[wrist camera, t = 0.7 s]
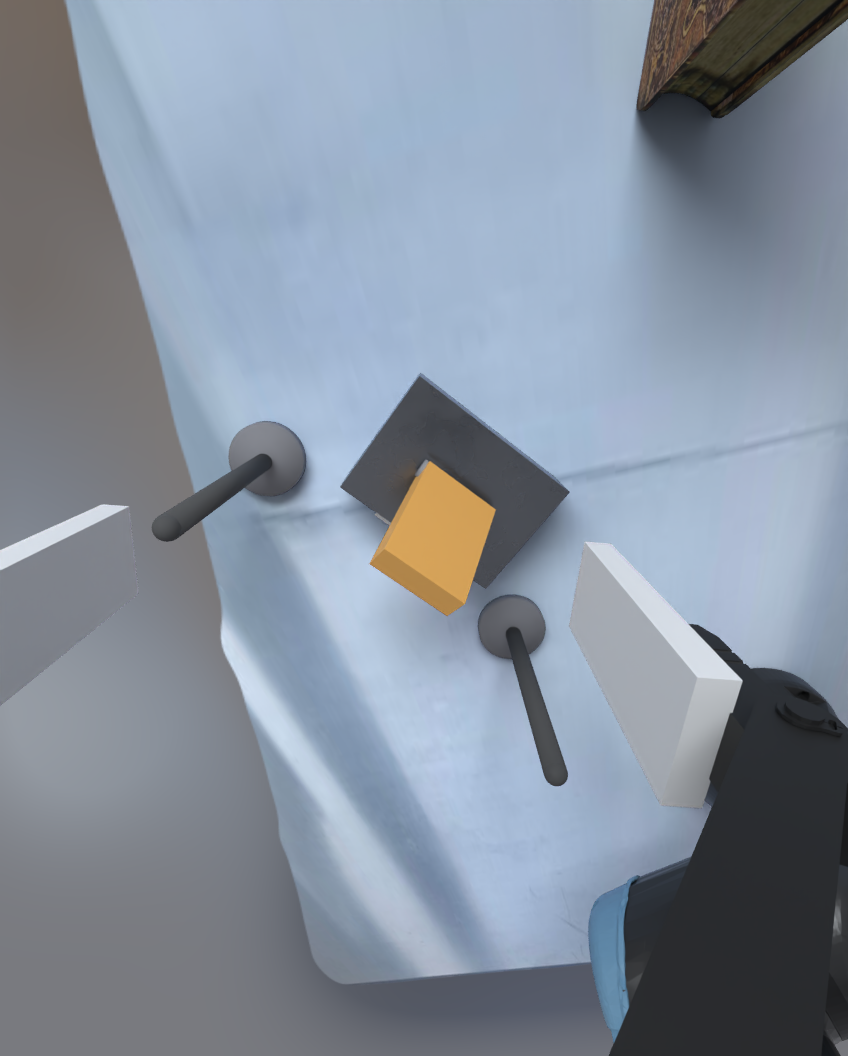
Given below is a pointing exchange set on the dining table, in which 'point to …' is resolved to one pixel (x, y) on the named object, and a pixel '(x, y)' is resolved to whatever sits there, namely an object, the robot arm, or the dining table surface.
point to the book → (729, 46)
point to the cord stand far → (524, 669)
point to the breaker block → (456, 470)
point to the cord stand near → (241, 476)
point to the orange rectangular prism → (436, 539)
